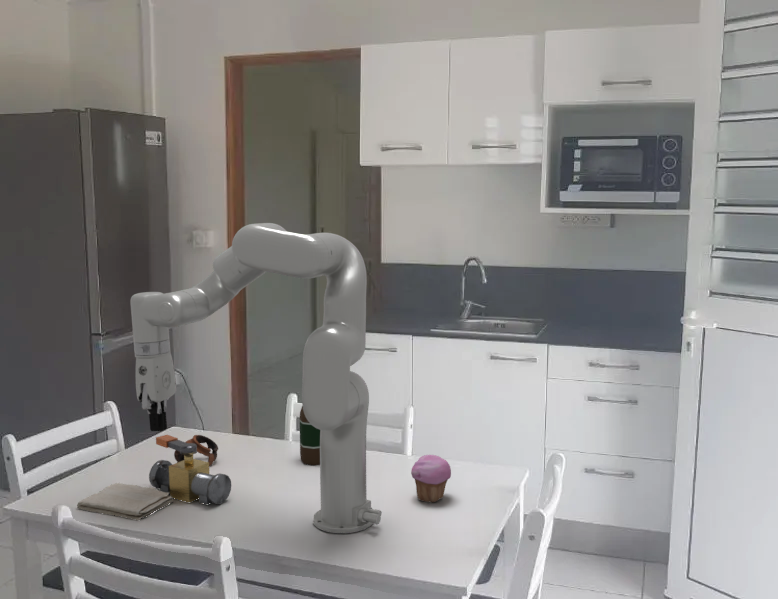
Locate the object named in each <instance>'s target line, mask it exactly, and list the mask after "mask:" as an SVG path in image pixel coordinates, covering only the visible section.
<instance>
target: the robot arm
mask: <svg viewBox="0 0 778 599" xmlns="http://www.w3.org/2000/svg"><path fill="white" fill-rule="evenodd" d="M212 267H213V268H212V269H213V272H211V273H210V274H209V275H208V276H207V277H205V278H204V279H203V280H201V281H200V282H198V283H197V284H196V285H193V286H192V287H190V288H187V289H181V290H177V291H172V292H166V293H163V292H160V291H146V292H145V291H144V292H138V293H135V294H133V295H132V296H131V297H130V313H131V324H132V326H131V327H132V328H131V329H132V338H133V350H134V358H135V392H136V398H137V401H138V402H140V403H141V409H142V410H147V414H148V418H149V430H150V431H151V432H163V431H165V430H167V429H168V424H167V412H166V411H167V410H168V408H167V406H168V405H167V403H168V401H169V399H170V398H171V397H172V396H175V394H176V393H177V382H176V381H177V380H176V371H175V366H174V361H173V356H172V353H171V343H170V341H171V340H170V329H174V328H180V327H183V326H187V325H189V324H193V323H198V322H201V321H203V320H205V319H206V318H208V317H210V316H212V315H213V314H214V313H216V312H217V311H219V310H220V309H222V308H224V307H225V306H226V305H227V304H228V303H230V302H231V301H232V300H233V299H234V298H235V297H236V296H237V295H239V293H240V291H241V290H243V289H244V288H246V287H247V286H248V285H250V284H251V283H253V282H254V281H256V280H257V279H258V278H260V277H261V276H263V275H264V274H266V273H272V274H277V275H280V276H281V275H282V276H286V277H292V278H296V279H304V280H305V279H309V280H310V279H314V278H318V277H322V276H325V277H326V278H325V279H326V287H325V291H324V294H323V316H322V317H323V320H322V325H321V326H320V327H317V328H315V329H314V330H313V331H312V332H311V333H310V334H309V335H308V337H307V339H306V342H305V343H304V348H303V354H302V377H301V378H302V379H301V380H302V382H301V383H302V385H301V386H302V387H301V403H302V406H303V411H304V414H305V417H306V418H307V420H308V421H309V423H310V424H311V425H312V426H314V427H315V428H317V429H320V465H319V475H320V476H319V477H320V478H319V479H320V481H319V482H320V483H319V484H320V489H319V492H320V509H319V510H317V511H316V512H315V513H314V515H313V516H312V517H313V525H314V526H315V527H316V528H317V529H319V530H320V531H323V532H327V533H332V534H351V533H357V532H360V531H364V530H366V529H368V528H370V527H371V526H372V525H373V524H374V525H379V524H380V523H381V519H382V512H383V511H382V510H380V509H374V508H373V507H372V500H370V499H367V498H368V497H367V428H368V424H367V423H368V414H369V405H370V393H369V388H368V385H367V383H366V382H365V379H363V377H362V376H361V375H359V374H358V373H357V372H354V371H351V367H352V366H353V365H355V364H357V362H359V361H360V360H361V359H362V358H363V356H364V354H365V350H366V344H367V343H366V338H367V337H366V333H367V332H366V331H367V329H366V327H367V326H366V325H367V322H366V321H367V286H368V285H367V283H368V282H367V279H368V278H367V268H366V263H365V261H364V257H363V256H362V254H361V252H360V251H359V248H357V247H356V246H355V245H354V244H353V243H352V242H351V241H350V240H348V239H347V238H345V237H343V236H341V235H339V234H337V233H331V232H315V233H308V234H303V233H297V232H291V231H287V229H285V227H283V226H281V225H280V224H277V223H272V222H261V223H258V222H257V223H250V224H247V225H244V226H242V227H241V228H240V229H239V230H237V232H236V233H235V235H234V237H233V238H232V242H231V246H230V247H228V248H226V249H225V250H224V251H223V252H221V253H220V254H219V255H216V257H215V258H214V259H213V261H212ZM302 406H301V407H302Z"/></svg>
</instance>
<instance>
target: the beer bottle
mask: <svg viewBox="0 0 778 599" xmlns="http://www.w3.org/2000/svg"><path fill="white" fill-rule="evenodd" d="M299 454H300V455H299V458H300V460H301V462H302V463H303V464H304V465H307V464H308V466H320V429H317V428H315V427H314V426H312V425H311V424H310V423H309V421H308V420H307V418H306V417H305V414H304V411H303V406H301V408H300V411H299Z"/></svg>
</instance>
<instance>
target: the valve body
mask: <svg viewBox="0 0 778 599" xmlns="http://www.w3.org/2000/svg"><path fill="white" fill-rule="evenodd" d="M148 480H149V484H150V485H151V487H154V488H155V489H160V491H162V492H166V493H167V492H168V493H169V494H170V495H169V496H171V497H173V498H175V499H178V500H177V501H179V500H182V501H186V502H191V503H193V502H192V501H194V500H196V499H198V498H199V499H198V503H199V502H200V503H204V504H209V503H211V504H215V505H216V504H217V505H220V504H223V503H225V502H226V501H227V499H228V497H229V496H230V494H231V491H232V480H231V478H230V476H229V475H228V474H224V473H221V472H220V473H216V474H215V475H214V474H210V467H209V462H208V461H204V460H200V459H196V458H194V454H192V455H184V460H183V461H181V462H178V463H177V462H176V463H174V464H172V462H171V461H169V460H164V459H160V460H157V461H156V462H155V463H153V465H152V466H151V468H150V470H149V474H148ZM175 499H174V500H175ZM182 501H181V502H182ZM196 501H197V500H196ZM186 502H185V503H186ZM194 502H195V501H194ZM200 503H199V504H200ZM204 504H203V505H204ZM209 505H210V504H209Z"/></svg>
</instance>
